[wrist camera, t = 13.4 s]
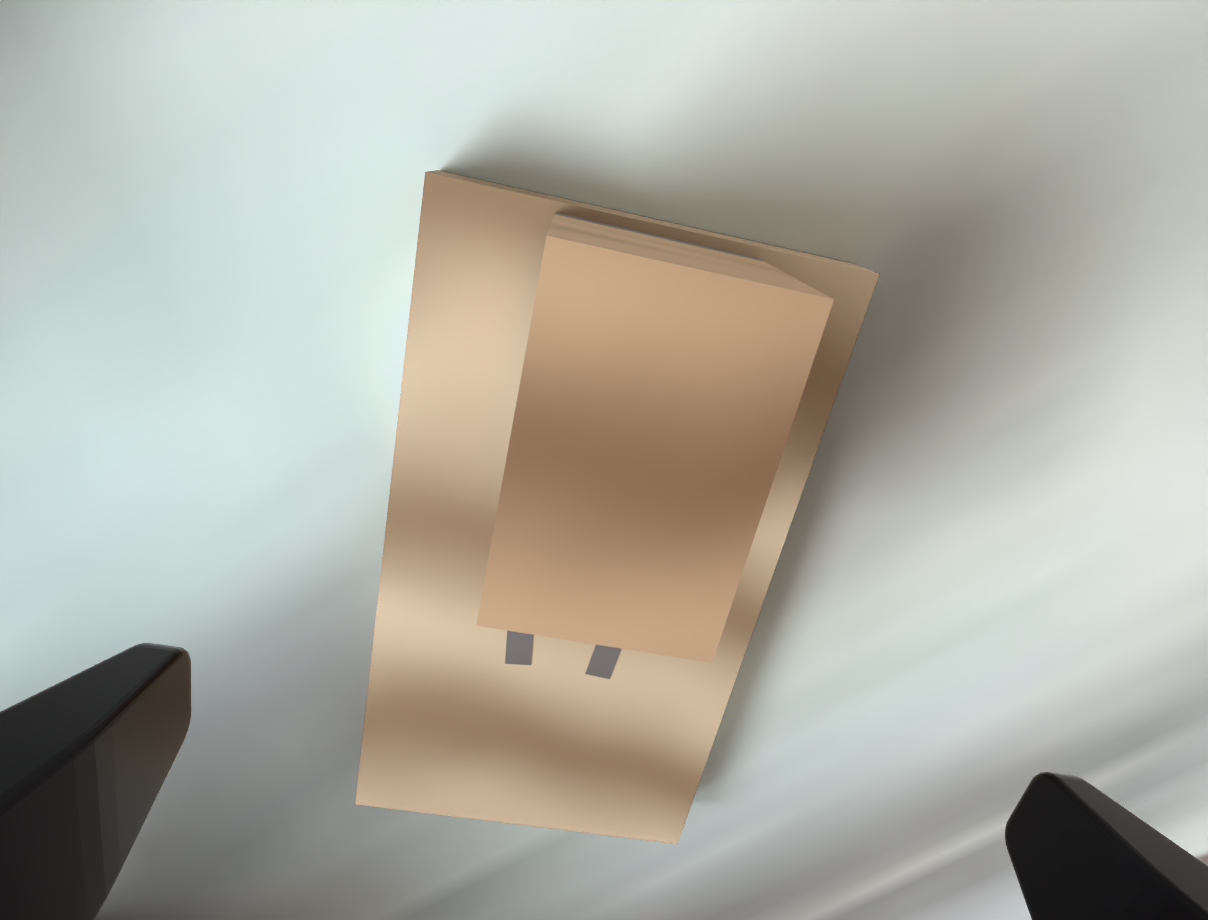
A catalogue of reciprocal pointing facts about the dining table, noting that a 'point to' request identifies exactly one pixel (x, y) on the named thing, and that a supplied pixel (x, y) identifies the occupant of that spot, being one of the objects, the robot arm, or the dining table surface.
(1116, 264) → the dining table surface
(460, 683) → the board
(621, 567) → the block
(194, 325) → the dining table surface
